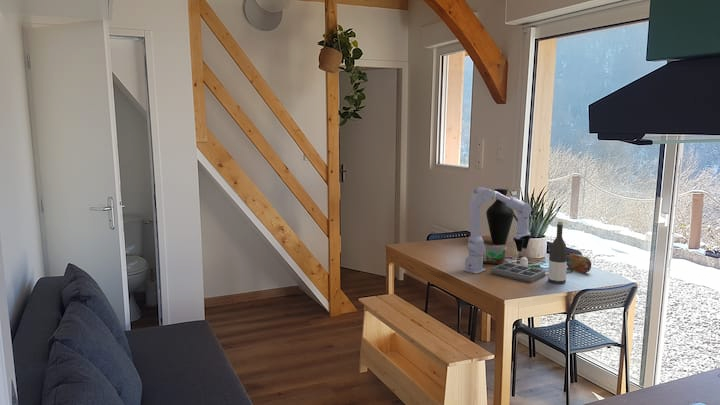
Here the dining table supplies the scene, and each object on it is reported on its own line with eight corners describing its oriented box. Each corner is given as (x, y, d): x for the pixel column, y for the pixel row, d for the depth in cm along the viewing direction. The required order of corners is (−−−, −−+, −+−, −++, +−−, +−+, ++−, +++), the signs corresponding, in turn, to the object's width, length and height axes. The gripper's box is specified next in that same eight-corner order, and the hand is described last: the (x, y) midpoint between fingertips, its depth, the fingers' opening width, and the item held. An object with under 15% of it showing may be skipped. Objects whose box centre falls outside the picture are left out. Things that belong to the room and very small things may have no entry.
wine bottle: (556, 285, 243) (560, 223, 239) (544, 280, 251) (547, 220, 246) (569, 282, 246) (572, 222, 242) (556, 278, 254) (560, 219, 249)
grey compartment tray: (531, 282, 247) (531, 276, 246) (491, 273, 262) (491, 268, 262) (545, 276, 257) (545, 270, 257) (505, 267, 273) (505, 262, 272)
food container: (481, 263, 281) (482, 245, 280) (484, 260, 287) (485, 243, 285) (504, 266, 276) (504, 248, 274) (506, 263, 281) (507, 245, 280)
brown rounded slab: (564, 267, 273) (565, 252, 272) (569, 266, 274) (570, 251, 273) (587, 274, 259) (588, 258, 258) (591, 274, 261) (592, 258, 259)
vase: (485, 245, 321) (487, 191, 316) (485, 239, 338) (486, 187, 332) (513, 247, 317) (515, 191, 312) (511, 240, 334) (514, 188, 328)
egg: (525, 269, 269) (525, 258, 269) (518, 267, 272) (518, 257, 271) (528, 267, 272) (529, 257, 271) (521, 266, 275) (522, 255, 274)
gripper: (525, 228, 262) (524, 253, 264) (535, 223, 274) (534, 248, 276) (512, 226, 267) (511, 251, 269) (522, 222, 278) (521, 246, 280)
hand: (521, 249), depth 273 cm, fingers open, 7 cm apart
